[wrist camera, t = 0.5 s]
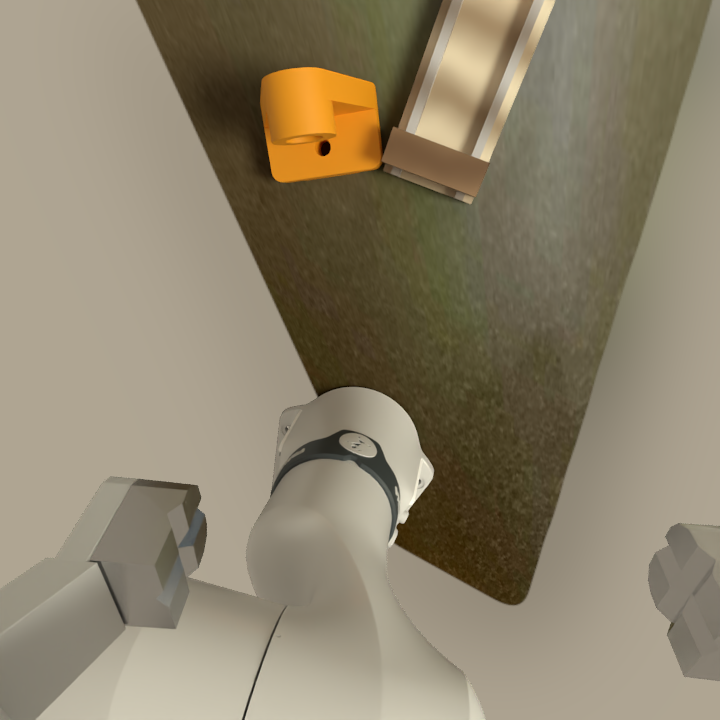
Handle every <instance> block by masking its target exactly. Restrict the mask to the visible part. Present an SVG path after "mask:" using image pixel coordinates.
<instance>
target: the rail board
mask: <svg viewBox="0 0 720 720" xmlns="http://www.w3.org/2000/svg"><path fill="white" fill-rule="evenodd" d="M554 3H555V0H443V1H442V4H441V7H440V10H439V13H438V15H437V18H436V21H435V24H434V27H433V30H432V33H431V35H430V38H429V41H428V44H427V47H426V50H425V53H424V55H423V58H422V61H421V64H420V67H419V70H418V73H417V75H416V78H415V81H414V84H413V87H412V90H411V93H410V95H409V98H408V101H407V104H406V107H405V110H404V113H403V115H402V118H401V121H400V124H399V127H398V128H396V127H393V129H392V131H391V134H390V137H389V140H388V143H387V146H386V149H385V152H384V155H383V157H382V160H381V161H382V162H384V163H386V164H385V167H384V170H383V171H385V172H387V173H390V174H392V175H395V176H398V177H400V178H403V179H406V180H408V181H411V182H413V183H416V184H419V185H421V186H424V187H427V188H429V189H432V190H434V191H437V192H440V193H442V194H445V195H448V196H450V197H453V198H455V199H458V200H461V201H463V202H466V203H469V204H471V203H472V201H473V198H474V197H476V195H477V193H478V191H479V188H480V186H481V183H482V181H483V178H484V176H485V174H486V171H487V169H488V166H489V164H490V163H489V160H490V157H491V155H492V152H493V150H494V148H495V145H496V143H497V140H498V138H499V135H500V133H501V131H502V128H503V126H504V123H505V121H506V119H507V116H508V114H509V111H510V109H511V106H512V104H513V102H514V99H515V97H516V94H517V92H518V90H519V87H520V85H521V82H522V80H523V78H524V75H525V73H526V70H527V68H528V65H529V63H530V61H531V58H532V56H533V53H534V51H535V49H536V46H537V44H538V41H539V39H540V36H541V34H542V32H543V29H544V27H545V24H546V22H547V20H548V17H549V15H550V12H551V10H552V7H553V5H554Z"/></svg>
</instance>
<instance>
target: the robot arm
mask: <svg viewBox="0 0 720 720" xmlns="http://www.w3.org/2000/svg"><path fill="white" fill-rule="evenodd" d="M287 426H290V428H289V429H288V428H287ZM433 474H434V469H433V466H432V464H431V463H430V461H429V460H428V459H427V457H426V456H425V455H424V453H423V452H422V450H421V447H420V444H419V439H418V435H417V431H416V429H415V426H414V424H413V422H412V420H411V419H410V417H409V416H408V414H407V413H406V412H405V410H404V409H403V408H402V407H401V406H400V405H399V404H397V403H396V402H395V401H394V400H392V399H391V398H389V397H388V396H386V395H384V394H382V393H380V392H377V391H374V390H371V389H367V388H362V387H344V388H338V389H335V390H331V391H329V392H327V393H324V394H323V395H321V396H319V397H318V398H316V399H315V400H313V401H312V402H310V403H308V404H306V405H300V406H294V407H290V408H288V409H286V410H284V411H283V413H282V415H281V417H280V422H279V431H278V440H277V449H276V457H275V467H274V475H273V485H272V491H271V496H270V499H269V501H268V502H267V504H266V506H265V508H264V509H263V511H262V513H261V514H260V516H259V518H258V519H257V521H256V523H255V524H254V526H253V528H252V530H251V532H250V535H249V539H248V543H247V549H246V561H247V569H248V572H249V576H250V579H251V582H252V585H253V588H254V590H255V593H256V595H257V597H255V596H252V595H248V594H245V593H241V592H238V591H234V590H231V589H227V588H224V587H220V586H216V585H213V584H210V583H206V582H203V581H199V580H196V579H192V578H188V576H189V575H190V574H192V573H193V572H194V571H195V570H196V569H197V568H198V567H199V565H200V562H201V559H202V556H203V553H204V548H205V542H206V537H207V523H206V518H205V514H204V513H202V512H201V511H200V510H199V509H198V505H199V503H200V500H201V495H200V492H199V488H198V486H197V485H190V484H181V483H172V482H162V481H153V480H144V479H134V478H122V477H109V478H108V479H107V480H106V481H105V482H103V483H102V484H101V485H100V487H99V489H98V490H97V492H96V493H95V495H94V497H93V498H92V500H91V502H90V503H89V505H88V506H87V508H86V509H85V511H84V513H83V514H82V516H81V518H80V519H79V521H78V522H77V524H76V525H75V527H74V529H73V530H72V532H71V533H70V535H69V537H68V538H67V540H66V541H65V543H64V545H63V546H62V548H61V549H60V551H59V553H58V554H57V556H56V557H55V558H45V559H44V560H42V561H41V562H39V563H38V564H36V565H35V566H33V567H32V568H30V569H29V570H28V571H26V572H25V573H23V574H22V575H20V576H19V577H18V578H16V579H15V580H13V581H11V582H10V583H9V584H7V585H5V586H4V587H2V588H1V589H0V720H486V719H485V716H484V712H483V710H482V707H481V704H480V702H479V699H478V697H477V695H476V693H475V691H474V689H473V687H472V686H471V683H470V682H469V680H468V679H467V677H466V675H465V674H464V672H463V671H461V670H460V669H459V668H458V667H457V666H455V665H454V664H453V663H451V662H450V661H449V660H448V659H447V658H446V657H445V656H443V655H442V654H441V653H440V652H439V651H438V650H437V649H436V648H435V647H434V646H433V645H432V644H431V643H430V642H429V641H427V639H426V638H425V637H424V636H423V635H422V634H421V632H420V631H419V630H418V629H417V628H416V626H415V625H414V624H413V622H412V621H411V620H410V618H409V617H408V616H407V614H406V613H405V611H404V610H403V608H402V606H401V605H400V603H399V602H398V600H397V598H396V596H395V594H394V592H393V590H392V587H391V585H390V583H389V580H388V576H387V553H388V548H390V547H391V546H392V544H393V543H394V541H395V539H396V537H397V534H398V530H397V529H396V525H397V524H398V523H399V522H400V523H402V524H403V523H404V522H405V521H406V519H407V517H408V514H409V513H408V512H407V511H408V510H409V509H410V507H411V506H412V505H413V503H414V502H415V501H416V500H417V498H418V497H419V496H420V494H421V493H422V492H423V491H424V489H425V488H426V487H427V485H428V484H429V483H430V481H431V480H432V478H433ZM419 479H420V480H421V481H420V482H419ZM665 537H666V539H667V541H668V544H669V546H667V547H665V548H663V549H661V550H659V551H657V552H656V553H655V554H654V556H653V558H652V560H651V562H650V564H649V576H648V581H649V586H650V592H651V595H652V597H653V600H654V603H655V606H656V608H657V609H658V610H659V611H660V612H661V613H662V614H663V615H664V616H665V617H666V618H667V619H669V621H671V624H670V628H669V630H668V633H667V636H668V638H669V640H670V643H671V646H672V648H673V650H674V653H675V655H676V658H677V660H678V662H679V665H680V667H681V670H682V672H683V675H684V677H691V678H699V679H707V680H715V681H720V526H713V525H698V524H682V523H678V524H676V525H674V526H672V527H671V528H670V530H669V531H668V533H667V534H666V536H665Z"/></svg>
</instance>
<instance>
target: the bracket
mask: <svg viewBox="0 0 720 720" xmlns="http://www.w3.org/2000/svg"><path fill="white" fill-rule="evenodd" d="M260 106H261V112H262V118H263V124H264V130H265V136H266V142H267V147H268V153H269V159H270V165H271V171H272V175H273V177H274V179H275V180H277V181H279V182H285V183H290V182H297V181H303V180H305V181H307V180H314V179H320V178H327V177H334V176H340V175H347V174H354V173H360V172H363V171H370V170H376V169H378V168H379V167H380V166H381V165H382V163H383V162H382V161H381V160H382V157H383V151H382V142H381V133H380V124H379V115H378V106H377V97H376V88H375V85H374V84H373V83H372V82H369V81H365V80H361V79H358V78H354V77H351V76H347V75H343V74H340V73H336V72H332V71H329V70H325V69H321V68H313V67H304V68H293V69H286V70H281V71H277V72H274V73H271V74H269V75H267V76H265V77H264V78H263V79H262V82H261V97H260ZM328 141H329V143H330V145H331V150H330V152H329V154H328V155H326V156H323V155H322V152H321V147H322V145H323V144H324V143H325V142H328Z"/></svg>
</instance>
